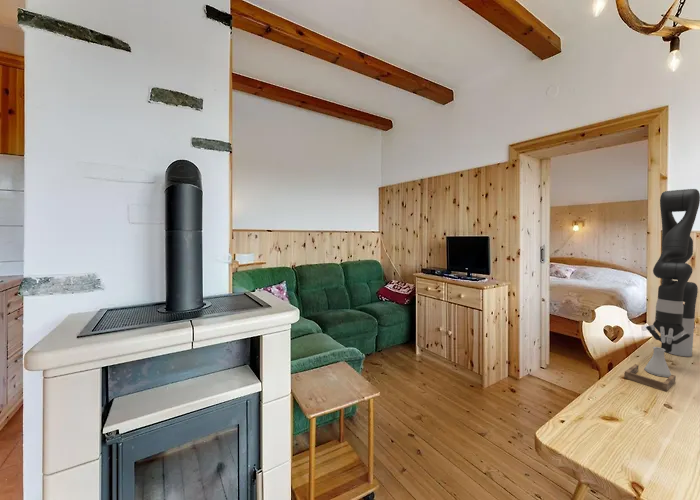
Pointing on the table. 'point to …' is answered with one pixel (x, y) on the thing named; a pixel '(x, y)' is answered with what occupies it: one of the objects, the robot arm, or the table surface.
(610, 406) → the table surface
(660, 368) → the flask
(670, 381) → the corral
